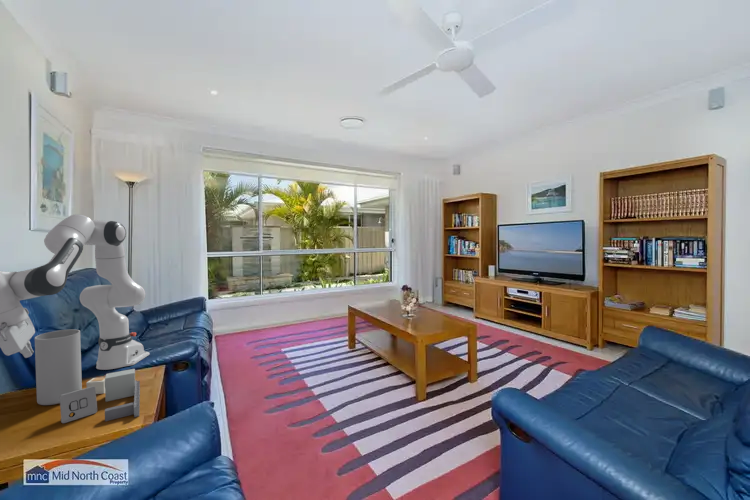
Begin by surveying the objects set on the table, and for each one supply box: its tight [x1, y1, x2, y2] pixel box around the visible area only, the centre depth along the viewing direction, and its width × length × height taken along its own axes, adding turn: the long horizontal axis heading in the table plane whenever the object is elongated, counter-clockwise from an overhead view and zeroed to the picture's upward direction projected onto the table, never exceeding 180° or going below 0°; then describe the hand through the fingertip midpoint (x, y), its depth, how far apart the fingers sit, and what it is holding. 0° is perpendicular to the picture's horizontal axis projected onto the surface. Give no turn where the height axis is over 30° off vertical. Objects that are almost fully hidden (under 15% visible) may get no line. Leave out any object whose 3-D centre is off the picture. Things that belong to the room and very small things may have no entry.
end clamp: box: [104, 401, 134, 422], centre depth 113 cm, size 2×8×4 cm, turn 126°
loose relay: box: [85, 376, 106, 395], centre depth 131 cm, size 4×6×5 cm, turn 101°
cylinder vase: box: [34, 329, 83, 406], centre depth 125 cm, size 12×12×25 cm
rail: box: [133, 379, 141, 418], centre depth 123 cm, size 24×2×4 cm, turn 36°
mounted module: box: [104, 368, 136, 403], centre depth 127 cm, size 5×9×9 cm, turn 126°
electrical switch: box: [59, 386, 98, 424], centre depth 113 cm, size 9×5×9 cm, turn 141°
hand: (29, 355), depth 108 cm, fingers closed
